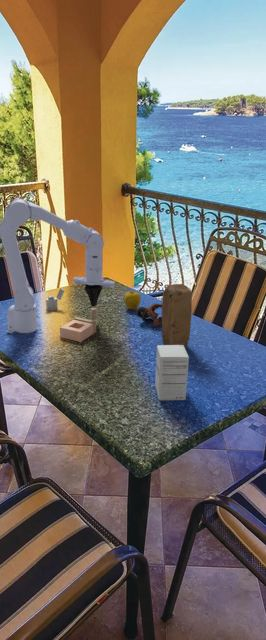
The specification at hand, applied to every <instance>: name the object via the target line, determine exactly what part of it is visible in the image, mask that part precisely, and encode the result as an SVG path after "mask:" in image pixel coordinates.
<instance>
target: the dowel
mask: <svg viewBox="0 0 266 640" xmlns="http://www.w3.org/2000/svg"><path fill="white" fill-rule="evenodd" d="M90 320H92V321H96V327H97V326H98V321H99V320H98V308H97V307H92V308H90Z"/></svg>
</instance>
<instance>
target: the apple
mask: <svg viewBox="0 0 266 640" xmlns="http://www.w3.org/2000/svg"><path fill="white" fill-rule="evenodd" d="M123 299H124V305H125V306H126V308H127V309H128V310H132V311H133V310H134V311H136V310H137V308H139V307H140V303H141V295H140V293H139V292H136V291H131V290H130V289H129V290H128V291H127V292H126V293H125V295H124V298H123Z"/></svg>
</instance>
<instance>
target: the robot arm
mask: <svg viewBox="0 0 266 640" xmlns="http://www.w3.org/2000/svg"><path fill="white" fill-rule="evenodd" d="M29 219H30V221H31V222H32V221H33V222H34V221H42V222H45V223H47V224H48V225H50V226H53V227H54V228H57V229H60V230H61V231H62V232H63V235H64V236H65V237H67V238H69V239H70V240H73V241H74V242H77V243H78V244H80V245H85V254H84V256H85V257H84V260H85V261H84V263H85V264H84V265H85V269H84V271H85V277H84V276H83V277H82V276H75V277H73V278H72V280H73V281H72V283H73V285H78V284H79V285H85V287H84V291H85V293H86V294H87V297H88V298H89V301H90V306H91V307H96V306H97V305H98V300H99V296H100V294H101V292H102V290H103V288H104V287H105V288H110V289H114V288H115V287H116V281H115V280H110V279H109V280H108V279H104V278H103V253H102V252H103V247H104V246H105V242H104V238H103V236H102V235H101V234H100V233H99V232H98V231H96V229H93V228H92V227H87V226H85V225H84V224H81V222H80V220H77V219H75V220H74V219H70V220H66V219H64V218H61V217H60V216H58V215H56V214H55V213H52V211H49V210H48V209H45V208H43V207H42V206H40V205H38V204H37V203H36V204H35V203H33V202H31V201H27V200H26V199H23V198H15V199H13V200H12V201H11V202H10V203H9V204H8V206H7V207H6V208H5V212H4V215H3V217H2V220H1V222H0V238H1V239H0V240H1V243H2V245H3V246H2V247H3V250H4V253H5V258H6V260H7V265H8V269H9V272H10V276H11V280H12V283H13V289H14V304H12V305H10V306H9V308H8V309H7V312H6V320H7V329H8V330H6V333H9V334H13V333H15V332H17V333H20V334H31V333H34V332H36V331H37V330H38V325H37V324H38V323H37V321H38V320H37V305H36V304H35V298H34V289H33V288H32V287H31V286H30V284H29V280H28V278H27V275H26V274H27V273H26V270H25V265H24V261H23V258H22V255H21V254H22V253H21V251H20V247H19V243H18V238H17V235H16V232H17V230H18V229H19V228H20V226H21V225H23V224H24V223H26V222H27V221H28V220H29Z"/></svg>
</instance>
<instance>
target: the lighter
mask: <svg viewBox="0 0 266 640" xmlns="http://www.w3.org/2000/svg"><path fill="white" fill-rule="evenodd" d="M64 293H65V289H64V288H59V291H58V293H57V295H56V296H55V295H51V296H48V298H46V299H45V305H46V306H45V309H46V311H54V310H55V311H56V309H57V310H58V300H61V299H62V298H63V296H64Z"/></svg>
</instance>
